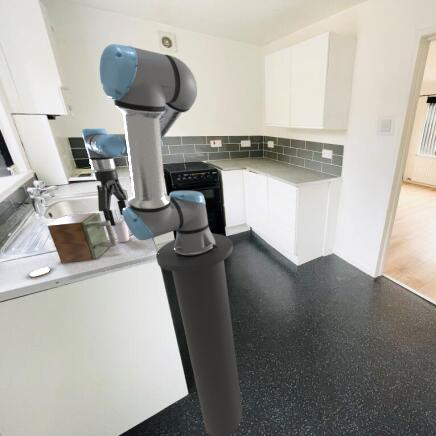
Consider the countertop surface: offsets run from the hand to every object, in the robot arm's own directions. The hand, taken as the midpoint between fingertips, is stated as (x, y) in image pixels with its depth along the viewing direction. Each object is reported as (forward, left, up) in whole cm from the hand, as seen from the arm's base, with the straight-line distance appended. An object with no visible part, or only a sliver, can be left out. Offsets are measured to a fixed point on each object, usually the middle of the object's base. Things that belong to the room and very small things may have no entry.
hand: (118, 219), depth 104 cm
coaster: (+18, +22, -10) cm, 30 cm away
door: (+1, +11, -9) cm, 14 cm away
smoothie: (0, 0, -10) cm, 10 cm away
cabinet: (+10, +11, -10) cm, 17 cm away
